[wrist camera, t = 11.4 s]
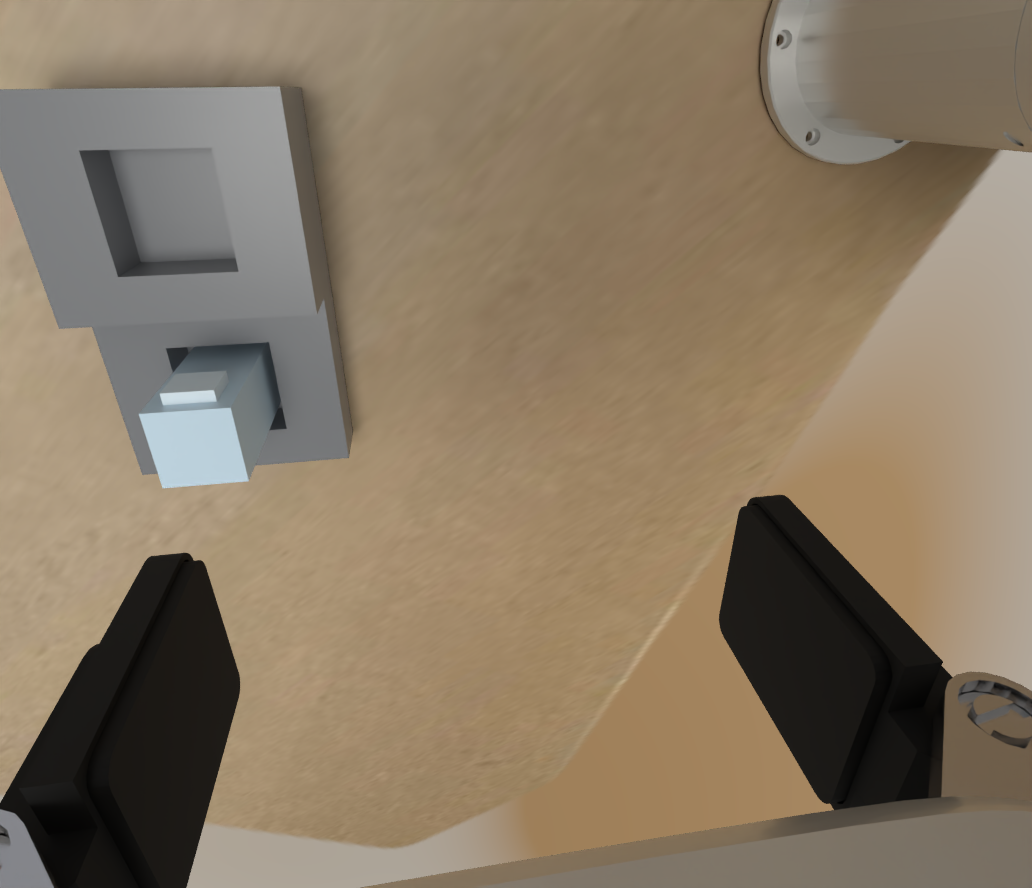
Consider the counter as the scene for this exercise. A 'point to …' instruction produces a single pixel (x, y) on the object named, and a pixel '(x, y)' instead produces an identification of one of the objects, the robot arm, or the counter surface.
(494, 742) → the counter surface
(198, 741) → the robot arm
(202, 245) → the socket panel
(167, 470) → the plug
